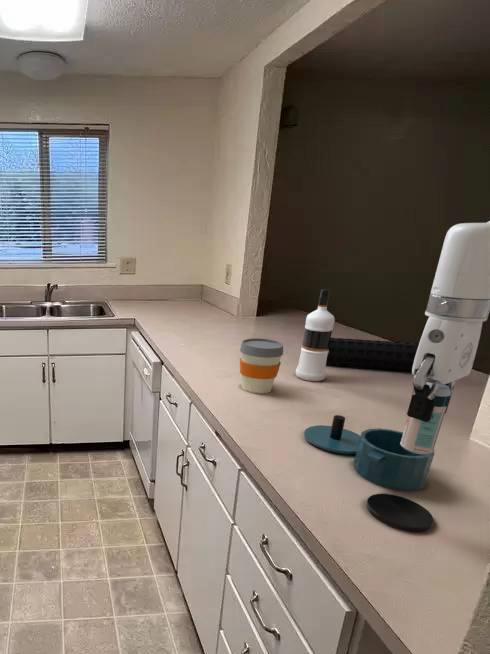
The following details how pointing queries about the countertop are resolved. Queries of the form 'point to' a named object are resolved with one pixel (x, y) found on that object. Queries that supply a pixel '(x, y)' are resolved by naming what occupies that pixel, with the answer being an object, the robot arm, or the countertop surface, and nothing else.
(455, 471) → the countertop surface
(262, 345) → the reusable coffee cup
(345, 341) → the roller
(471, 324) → the robot arm
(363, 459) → the pot
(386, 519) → the black plate
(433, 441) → the beer can
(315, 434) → the lid
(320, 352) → the vodka
